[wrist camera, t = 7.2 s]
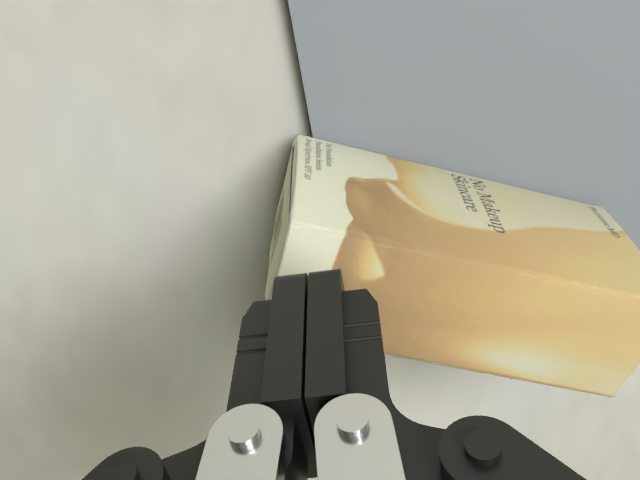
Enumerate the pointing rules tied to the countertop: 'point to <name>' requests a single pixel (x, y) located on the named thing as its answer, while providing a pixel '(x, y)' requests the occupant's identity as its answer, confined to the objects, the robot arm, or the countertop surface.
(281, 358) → the robot arm
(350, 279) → the skincare box
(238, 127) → the countertop surface
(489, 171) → the mat
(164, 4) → the countertop surface
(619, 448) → the countertop surface
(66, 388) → the countertop surface
